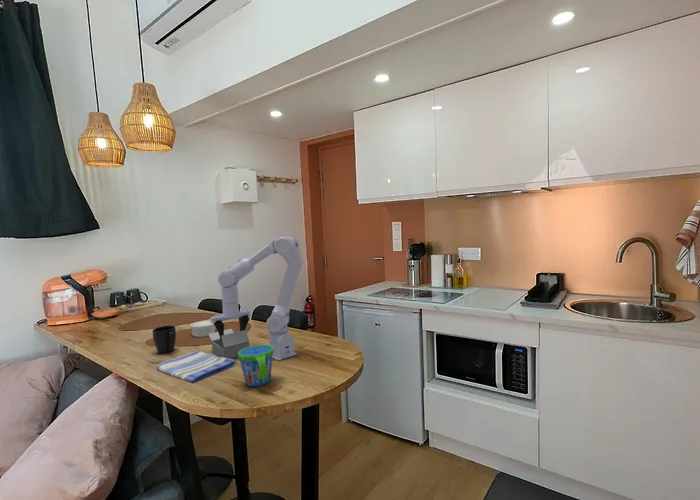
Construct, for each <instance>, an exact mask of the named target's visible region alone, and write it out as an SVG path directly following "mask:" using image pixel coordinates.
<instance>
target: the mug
mask: <svg viewBox="0 0 700 500" xmlns="http://www.w3.org/2000/svg"><path fill="white" fill-rule="evenodd" d="M152 338H153V343H154V345H155V348H156V352H157V353H158V354H161V355H165V354H170V353H172V352H174V350H175V345H176V341H177V330H176V326H175V325H163V326H159V327H155V328H153V329H152Z"/></svg>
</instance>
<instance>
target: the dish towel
mask: <svg viewBox="0 0 700 500" xmlns="http://www.w3.org/2000/svg"><path fill="white" fill-rule="evenodd" d="M235 364H236V361H235V359H234V358H232V359H229V358H224V357H218V356H216V355H215V354H213V353H212V354H211V353H207V352H203V351H201V350H196V351H193V352H190V353H187V354H184V355H180V356H178V357H176V358H172V359H167V360H165V361H163V362H160V363H158V364H157V366H156V370H157V371H160V372H162V373H163V374H166V375H168V376H170V377H171V376H172V377H174V378H177V379H179V380H183V381H186V382H188V383H197V382H199V381H202V380H204V379H207V378H209V377H212V376H214V375H217V374H220V373H222V372H224V371H227V370H229V369H232V368H234V367H236V365H235Z"/></svg>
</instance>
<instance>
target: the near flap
mask: <svg viewBox="0 0 700 500" xmlns="http://www.w3.org/2000/svg"><path fill="white" fill-rule="evenodd" d="M221 337H222V341H223V345H224V348H225V347H229V346H233V345H236V344H240V343H244V342H250V341H249V336H248V331H247V330H246V329H245V330H243V331H240V330H239V331H234V333H230V334H226V335H222V336H221Z"/></svg>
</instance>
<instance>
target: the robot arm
mask: <svg viewBox="0 0 700 500" xmlns="http://www.w3.org/2000/svg"><path fill="white" fill-rule="evenodd" d="M300 246H301V245H300V243H299V242H298V241H297V239H296V238H295V237H294V236H291V235H286V236H279V237H277V238H276V239H275V240H272V241H270V242H269V243H268V244H266V245H264V247H261V249H259V250H258V251H257V252H256V253H254V254H253V255H252V256H251V257H247V258H246V257H244V258H239V259H237V262H236V263H235V264H234V265H232V266H231V265H230V266H229V267H227V270H223V271H221V273H220V274H219V275H218V277H217V281H218V284H219V286H221V287H220V288H221V303H222V304H221V305H222V313H221V314H218V315H214V316H210V320H211V323H213V324H214V325H215V327H216V328H215V330H217V331H216V332H218V333H219V336H220V340H221V341H222V337H221V336H222V335H224V330H225V323H224V322H223V321H228V320H234V319H238V322H239V324H238V325H239V331H243V330H246V328H247V325H248V323H249V321H250V317H251V310H240V309H239V307H240V306H239V291H238V290H239V289H238V283H239V282H240V280H242V279H243V278H245V277H246V276H248V275H249V274H250V273H252V272H253V271H254V269H255V266H256V265H257V264H258V263H260V262H261V261H264V260H265V259H266V258H268V257H270V255H271V256H272V255H275V254H278V255H279V256H280V257H282V258H283V259H284V261H285V262H286V264H287V266H286V270H285V273H284V277H283V280H282V283H281V287H280V289H279V293H278V297H277V300H276V304H275V306H274V308H273V309H272V312H271V315H270V316H269V317H268V318H267V319H266V322H265V323H266V324H265V327H266V329H267V330H268V336H269V337H268V340H269V345H270V346H272V347H273V349H274V353H273V355H272V359H273V360H276V361H280V360H281V361H282V360H284V359H288V358H290V357H294V356H296V355H298V353H297V352H295V339H294V337H293V335H292V334H290V330H289V329H290V328H289V325H288V324H289V322H290V311H291V310H290V306H291V302H292V299H293V296H294V293H295V291H296V287H297V284H298V280H299V277H300V272H301V269H302V267H303V263H304V262H303V256H302V253H301V248H300Z"/></svg>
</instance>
